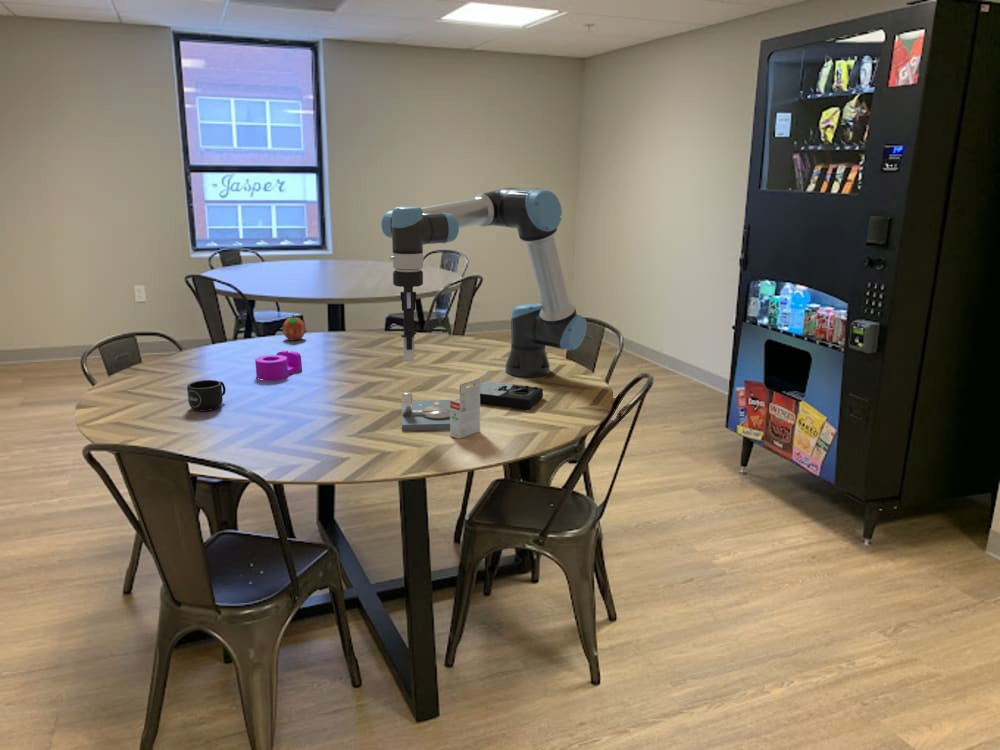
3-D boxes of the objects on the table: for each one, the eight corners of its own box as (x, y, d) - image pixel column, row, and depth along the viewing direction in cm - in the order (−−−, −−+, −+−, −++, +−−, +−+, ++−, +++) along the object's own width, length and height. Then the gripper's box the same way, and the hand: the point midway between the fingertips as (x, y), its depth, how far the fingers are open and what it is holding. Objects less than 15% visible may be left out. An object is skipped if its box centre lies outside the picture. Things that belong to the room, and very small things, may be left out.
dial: (453, 408, 212) (453, 387, 210) (456, 419, 203) (456, 397, 202) (401, 410, 210) (401, 388, 208) (402, 420, 201) (401, 398, 200)
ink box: (449, 436, 195) (449, 382, 191) (470, 428, 201) (470, 376, 197) (459, 439, 193) (459, 384, 189) (480, 432, 199) (481, 378, 195)
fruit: (279, 341, 294) (277, 316, 291) (289, 336, 303) (288, 311, 301) (300, 342, 293) (298, 317, 290) (310, 337, 302) (308, 312, 299)
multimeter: (529, 412, 217) (529, 395, 215) (467, 404, 223) (467, 388, 222) (543, 399, 228) (543, 383, 227) (484, 392, 235) (484, 376, 234)
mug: (206, 415, 208) (204, 390, 206) (182, 410, 212) (179, 385, 210) (237, 403, 219) (235, 379, 217) (214, 399, 222) (212, 375, 220)
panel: (470, 404, 221) (470, 398, 221) (477, 428, 201) (477, 422, 201) (401, 406, 219) (401, 400, 218) (402, 430, 198) (402, 424, 198)
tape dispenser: (277, 382, 240) (275, 363, 239) (250, 379, 243) (248, 360, 241) (303, 370, 255) (302, 352, 253) (278, 367, 258) (277, 349, 256)
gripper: (392, 266, 196) (394, 354, 202) (392, 273, 183) (394, 367, 189) (421, 266, 197) (422, 353, 203) (423, 273, 184) (424, 367, 190)
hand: (409, 360), depth 196 cm, fingers closed
